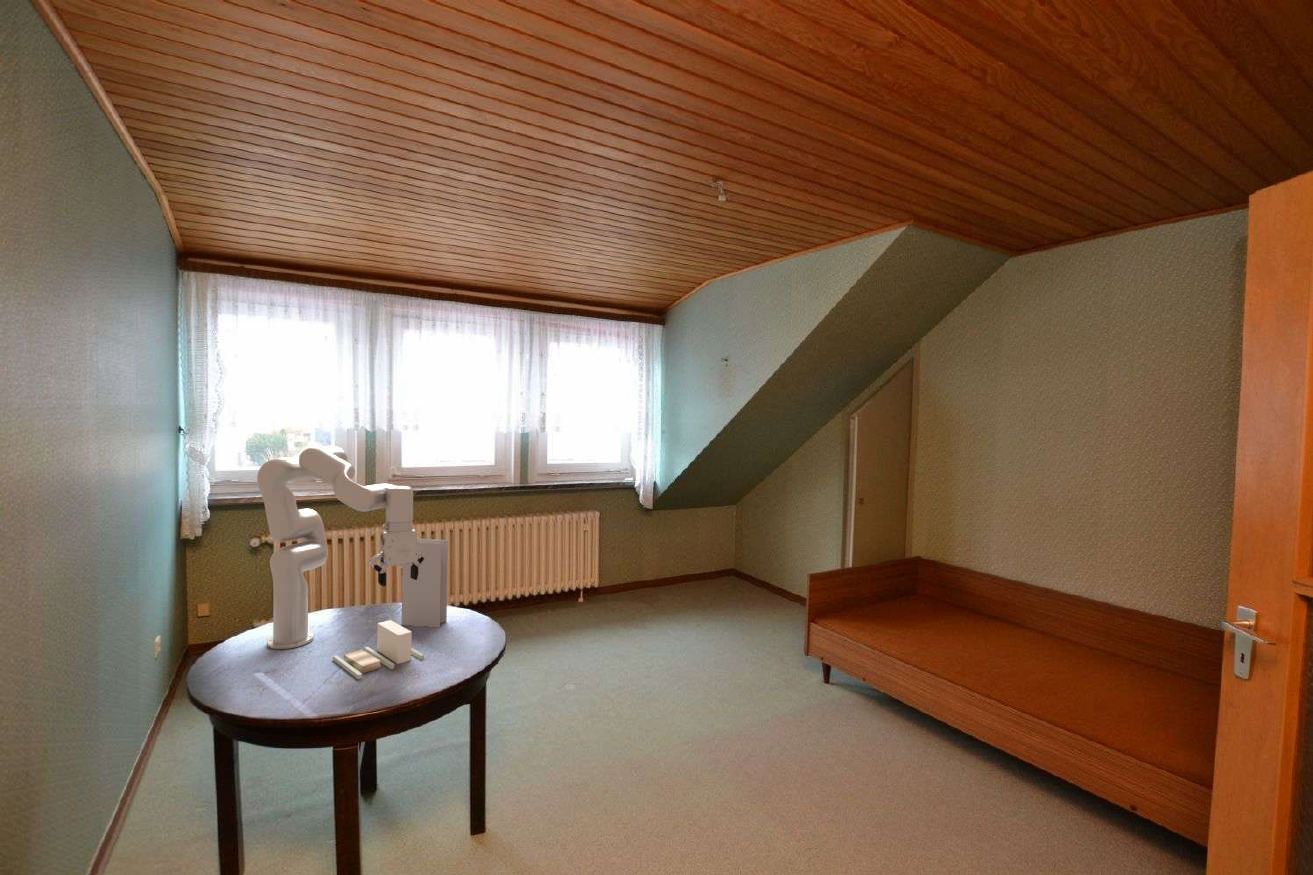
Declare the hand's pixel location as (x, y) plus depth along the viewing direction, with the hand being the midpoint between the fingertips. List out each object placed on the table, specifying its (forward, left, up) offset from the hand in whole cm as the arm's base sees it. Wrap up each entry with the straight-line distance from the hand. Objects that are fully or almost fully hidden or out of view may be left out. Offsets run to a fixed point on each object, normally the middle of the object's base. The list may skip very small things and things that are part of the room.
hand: (398, 582), depth 174 cm
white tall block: (-22, +20, -24) cm, 38 cm away
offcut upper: (0, -11, -22) cm, 25 cm away
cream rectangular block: (0, -1, -24) cm, 24 cm away
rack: (0, -6, -24) cm, 24 cm away
